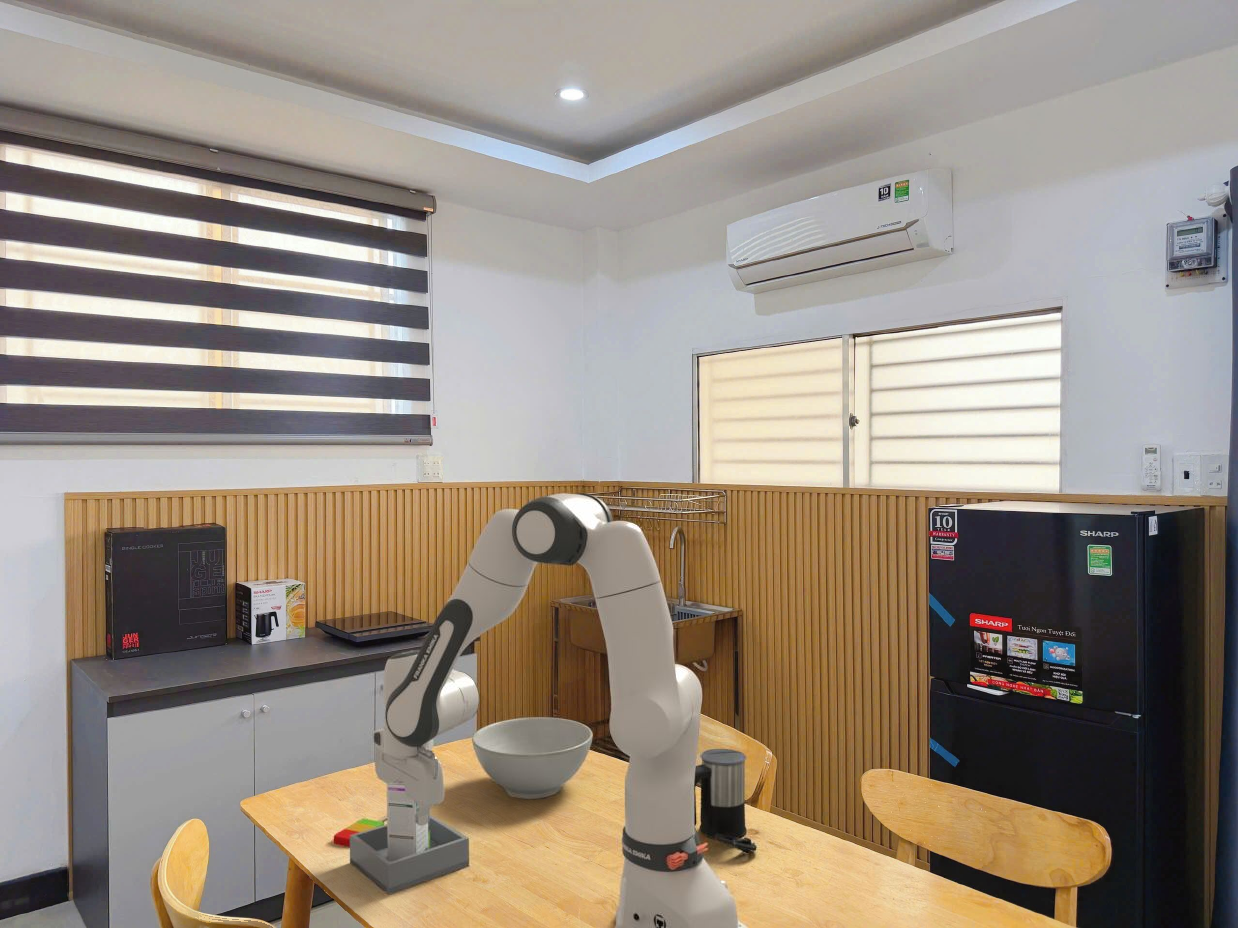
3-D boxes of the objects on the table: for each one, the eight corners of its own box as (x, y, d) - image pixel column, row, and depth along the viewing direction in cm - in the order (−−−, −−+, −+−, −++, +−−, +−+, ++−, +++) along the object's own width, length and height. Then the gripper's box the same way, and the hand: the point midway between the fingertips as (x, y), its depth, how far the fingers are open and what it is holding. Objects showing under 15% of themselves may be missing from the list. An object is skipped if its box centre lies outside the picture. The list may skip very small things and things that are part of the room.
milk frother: (719, 816, 176) (718, 744, 176) (784, 839, 165) (784, 762, 165) (674, 838, 166) (673, 761, 166) (740, 864, 155) (740, 782, 155)
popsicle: (330, 845, 165) (330, 835, 165) (381, 815, 179) (381, 806, 179) (353, 850, 163) (353, 840, 163) (403, 819, 176) (402, 810, 176)
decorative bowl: (485, 767, 206) (485, 716, 206) (596, 767, 205) (596, 716, 205) (460, 812, 179) (459, 754, 179) (588, 813, 178) (588, 754, 178)
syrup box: (416, 866, 152) (416, 785, 152) (386, 863, 154) (386, 782, 154) (430, 852, 158) (430, 774, 158) (401, 849, 159) (401, 771, 159)
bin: (469, 865, 155) (468, 837, 155) (388, 894, 145) (388, 864, 145) (427, 837, 167) (426, 812, 167) (350, 862, 156) (349, 835, 157)
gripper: (452, 749, 150) (453, 828, 150) (399, 723, 165) (399, 795, 165) (420, 757, 146) (420, 839, 146) (368, 730, 161) (368, 804, 161)
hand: (409, 815), depth 156 cm, fingers open, 8 cm apart
